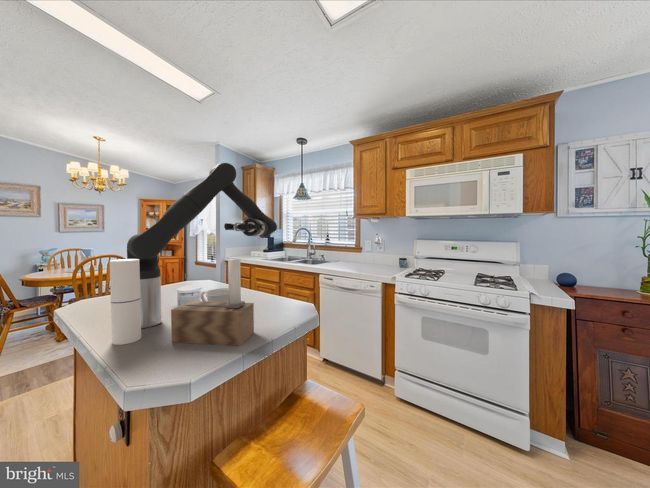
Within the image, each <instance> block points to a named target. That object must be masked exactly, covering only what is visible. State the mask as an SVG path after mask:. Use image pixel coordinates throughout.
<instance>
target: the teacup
mask: <svg viewBox="0 0 650 488" xmlns="http://www.w3.org/2000/svg"><path fill="white" fill-rule="evenodd" d="M204 295H205V296H206V298H205V296H204ZM200 301H206V302H229V287H226V288H215V289H209V290H207V291H206V290H203V291H202V292H201V293H200Z"/></svg>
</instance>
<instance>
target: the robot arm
mask: <svg viewBox="0 0 650 488" xmlns="http://www.w3.org/2000/svg"><path fill="white" fill-rule="evenodd" d="M236 178H237V170H236V168H235V167H234V165H233V164H231V163H229V162H220V163H217V164H216V165H215V166H213V167H212V168H211V169H210V170H209V174H208V176H206V178H204V179H203V180H202V181H200V182H199V183H198V184H195V185H194V186H193V187H191V188H190V189H188V190H186V192H183V194H182V195H180V196H179V197H178V198H177V199H176V200H175V201H174V202H173V203H171V205H169V206H168V208H167V209H166V211H165V212H164V214H163V215H162V216H161V218H160V219H159V220H157V222H156V223H154V224H153V225H151V226H150V227H149V228H147V230H146V229H145V231H143V232H141V233H137V234H135V235H132V236H131V237H130V238H129V239H128V241H127V245H126V259H139V267H140V305H141V329H145V328H151V327H153V326H157V325H159V324H161V323H162V287H161V286H162V285H161V283H162V281H161V278H162V277H161V269H160V265H159V261H158V260H159V259H158V255H159V254H160V253H161V252H162V251H163V250H164V249H165V247H166V246H167V245H168V244H169V243H170V241H171V240H172V239H173V238H174V237H175V236H176V235H177V234H178V233H179V232H180V231H181V230H183V229H184V228H186V227H187V226H188V225H189V224H190V223H191V222H192V221H193V220H195V219H196V218H197V217H198V216H199V215H200V214H201V213H202V212H203V211H204V209H206V207H207V206H209V204H210V203H211V202H213V200H214V198H215V197H216V196H217V195H218V194H219V193H220V192H223V193H224V194H225V195H226V196H227V197H228V198H229V199H230V200H231V201H233V203H235V205H236V206H237V207H238V208H239V209H240V210H241V212H243V214H244V215H245V216H246V217H247V218H246V219H244V220H243V221H240V222H233V223H230V222H229V223H224V225H223V227H224V229H225V231H234V232H241V233H243V234H244V235H245V236H247V237H258V236H259V238H261V239H265V238H266V237H269V236H270V235H271V234H273V233H275V232H276V231H277V229H278V224H277V223H276V221H275V220H274V219H272V218H270V216H268V215H266V214H265V213H264V212H263V211H262V210H261V209H260V207H259V206H258V205H257V203H256V202H255V201H253V199H251V197H249V196H248V195H246V194H245V193H243V191H241V190H240V188H238V187H237V186H236V185H235V183H234V182H235V181H236Z"/></svg>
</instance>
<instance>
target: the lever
mask: <svg viewBox="0 0 650 488" xmlns="http://www.w3.org/2000/svg"><path fill="white" fill-rule="evenodd" d="M227 260H228V261H227V264H228V265H227V269H228V271H227V272H228V273H227V274H228V275H227V276H228V277H227V278H228V288H229V303H227V304H226V305H224V308H239V307H241V306H242V305H244V304H245V303H246V301H245V300H244V301H243V300H242V299H241V297H242V295H241V291H242V290H241V285H242V284H241V276H242V275H241V258H228V259H227Z"/></svg>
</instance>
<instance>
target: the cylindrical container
mask: <svg viewBox="0 0 650 488" xmlns="http://www.w3.org/2000/svg"><path fill="white" fill-rule="evenodd" d="M109 287H110V288H109V289H110V314H111V315H110V319H111V344H112V345H114V346H121V345H127V344H131V343H135V342H137V341H140V340H141V339H142V328H141V305H140V267H139V259H127V258H125V259H124V258H121V259H111V260H109Z"/></svg>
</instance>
